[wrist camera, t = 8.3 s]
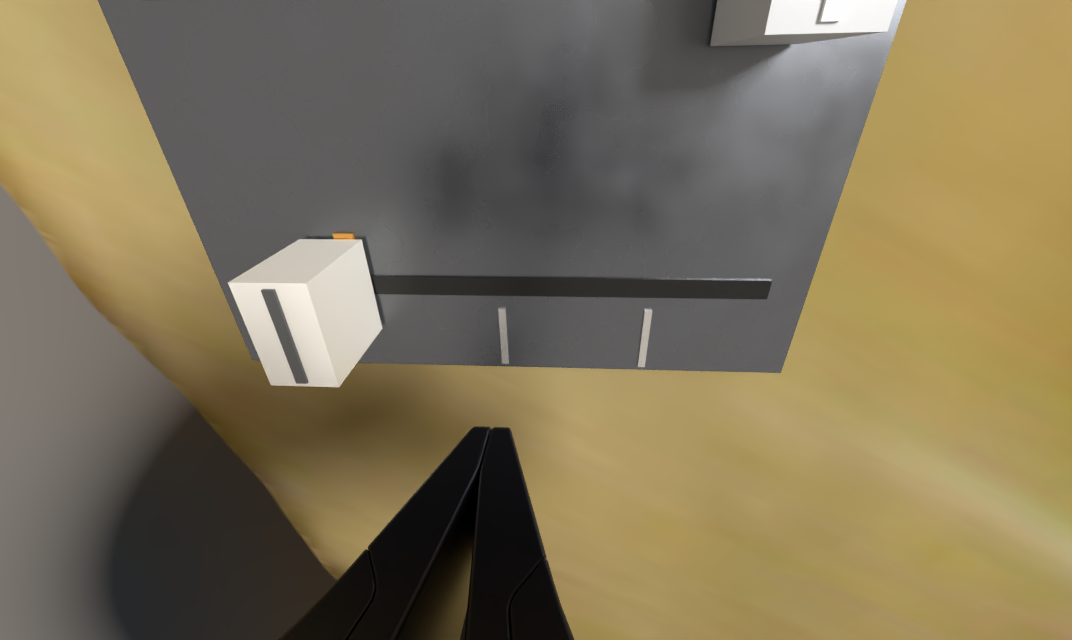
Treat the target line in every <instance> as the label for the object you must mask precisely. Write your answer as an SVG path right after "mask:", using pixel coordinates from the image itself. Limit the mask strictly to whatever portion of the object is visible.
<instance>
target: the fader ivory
mask: <svg viewBox="0 0 1072 640" xmlns="http://www.w3.org/2000/svg"><path fill="white" fill-rule="evenodd" d="M228 284H229V287H230V289H231V292H232V294H233V296H234V299H235V301H236V303H237V306H238V308H239V311H240V313H241V315H242V318H243V320H244V323H245V325H246V327H247V330H248V332H249V334H250V337H251V339H252V342H253V344H254V346H255V349H256V351H257V353H258V356H259V358H260V361H261V363H262V365H263V368H264V370H265V373H266V375H267V377H268V380H269V382H270V384H271V385H275V386H310V387H340V385H341V384H342V383H343V381H344V380H345V379H346V377H347V376H348V375H349V373H350V372H351V370H352V369H353V368H354V366H355V365H356V364H357V362H358V361H359V360H360V358H361V357H362V355H363V354H364V353H365V351H366V350H367V349H368V347H369V346H370V345H371V343H372V342H373V341H374V339H375V338H376V336H377V335H378V334H379V332H380V331H381V330H382V325H381V320H380V316H379V312H378V307H377V303H376V299H375V294H374V290H373V286H372V282H371V277H370V273H369V269H368V264H367V260H366V256H365V252H364V247H363V243H362V239H299V240H297V241H295V242H294V243H292V244H291V245H289V246H287V247H286V248H284V249H282V250H281V251H279V252H277V253H276V254H274V255H272V256H271V257H269V258H267V259H266V260H264V261H263V262H261V263H259V264H258V265H256V266H254V267H253V268H251V269H249V270H248V271H246V272H244V273H243V274H241V275H239V276H238V277H236V278H235V279H233V280H231V281H230V282H228Z"/></svg>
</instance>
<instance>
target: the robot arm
mask: <svg viewBox="0 0 1072 640" xmlns="http://www.w3.org/2000/svg"><path fill="white" fill-rule="evenodd" d="M278 640H574V637H573V635H572V632H571V630H570V627H569V625H568V622H567V619H566V617H565V614H564V612H563V609H562V606H561V603H560V600H559V597H558V594H557V591H556V588H555V584H554V581H553V578H552V574H551V571H550V567H549V564H548V561H547V560H546V554H545V550H544V546H543V543H542V539H541V536H540V532H539V529H538V525H537V521H536V518H535V514H534V511H533V507H532V504H531V500H530V496H529V493H528V489H527V486H526V482H525V479H524V475H523V471H522V468H521V464H520V461H519V457H518V454H517V450H516V447H515V443H514V439H513V436H512V432H511V430H510V428H504V427H494V428H493V429H491V428H490V427H473V428H472V429H471V430H470V431H469V432H468V433H467V434H466V436H465V437H464V438H463V439H462V440H461V441H460V442H459V444H458V445H457V446H456V447H455V448H454V449H453V450H452V452H451V453H450V454H449V455H448V456H447V457H446V458H445V460H444V461H443V462H442V463H441V464H440V465H439V466H438V468H437V469H436V470H435V471H434V472H433V473H432V474H431V476H430V477H429V478H428V479H427V480H426V481H425V482H424V483H423V485H422V486H421V487H420V488H419V489H418V490H417V491H416V493H415V494H414V495H413V496H412V497H411V498H410V499H409V501H408V502H407V503H406V504H405V505H404V506H403V507H402V509H401V510H400V511H399V512H398V513H397V514H396V515H395V517H394V518H393V519H392V520H391V521H390V522H389V523H388V524H387V526H386V527H385V528H384V529H383V530H382V531H381V532H380V534H379V535H378V536H377V537H376V538H375V539H374V540H373V542H372V543H371V544H370V545H369V546H368V550H364V552H363V553H362V554H361V555H360V556H359V557H358V558H357V560H356V561H355V562H354V563H353V564H352V565H351V566H350V567H349V569H348V570H347V571H346V572H345V573H344V574H343V575H342V576H341V577H340V578H339V579H338V580H337V582H336V583H335V584H334V585H333V586H332V587H331V588H330V589H329V590H328V591H327V592H326V593H325V594H324V595H323V596H322V597H321V598H320V599H319V600H318V601H317V602H316V603H315V604H314V605H313V606H312V607H311V608H310V609H309V610H308V611H307V612H306V613H305V614H304V615H303V616H302V617H301V618H300V619H299V620H298V621H297V622H296V623H295V624H294V625H293V626H292V627H291V628H290V629H289V630H288V631H287V632H286V633H285V634H284V635H282V636H281V637H280V639H278Z"/></svg>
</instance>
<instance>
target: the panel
mask: <svg viewBox="0 0 1072 640" xmlns="http://www.w3.org/2000/svg"><path fill="white" fill-rule="evenodd" d="M98 2H99V4H100V7H101V9H102V11H103V14H104V16H105V18H106V20H107V23H108V25H109V27H110V30H111V32H112V34H113V37H114V39H115V41H116V44H117V46H118V48H119V51H120V53H121V55H122V58H123V60H124V62H125V65H126V67H127V69H128V72H129V74H130V76H131V79H132V81H133V83H134V86H135V88H136V90H137V92H138V95H139V97H140V99H141V102H142V104H143V106H144V109H145V111H146V113H147V116H148V118H149V120H150V123H151V125H152V127H153V130H154V132H155V134H156V137H157V139H158V141H159V144H160V146H161V148H162V151H163V153H164V155H165V158H166V160H167V162H168V164H169V167H170V169H171V171H172V174H173V176H174V178H175V181H176V183H177V185H178V188H179V190H180V192H181V195H182V197H183V199H184V202H185V204H186V206H187V209H188V211H189V213H190V216H191V218H192V220H193V223H194V225H195V227H196V230H197V232H198V234H199V236H200V239H201V241H202V243H203V246H204V248H205V250H206V253H207V255H208V257H209V260H210V262H211V264H212V267H213V269H214V271H215V274H216V276H217V278H218V281H219V283H220V285H221V288H222V290H223V292H224V295H225V297H226V299H227V302H228V304H229V306H230V308H231V311H232V313H233V315H234V318H235V320H236V322H237V325H238V327H239V329H240V332H241V334H242V336H243V339H244V341H245V343H246V346H247V348H248V350H249V353H250V355H251V357H252V360H260V358H259V356H258V353H257V351H256V349H255V346H254V344H253V342H252V339H251V337H250V334H249V332H248V330H247V327H246V325H245V323H244V320H243V318H242V315H241V313H240V311H239V308H238V306H237V303H236V301H235V299H234V296H233V294H232V292H231V289H230V287H229V284H228V282H230V281H231V280H233V279H235V278H236V277H238V276H239V275H241V274H243V273H244V272H246V271H248V270H249V269H251V268H253V267H254V266H256V265H258V264H259V263H261V262H263V261H264V260H266V259H267V258H269V257H271V256H272V255H274V254H276V253H277V252H279V251H281V250H282V249H284V248H286V247H287V246H289V245H291V244H292V243H294V242H295V241H297V240H299V239H362V243H363V247H364V252H365V256H366V260H367V264H368V269H369V273H370V277H371V282H372V286H373V290H374V294H375V299H376V303H377V307H378V312H379V316H380V320H381V325H382V330H381V331H380V332H379V334H378V335H377V336H376V338H375V339H374V341H373V342H372V343H371V345H370V346H369V347H368V349H367V350H366V351H365V353H364V354H363V355H362V357H361V358H360V360H359V361H358V362H357V363H397V364H438V365H480V366H521V367H562V368H603V369H644V370H685V371H726V372H767V373H781V370H782V367H783V364H784V361H785V359H786V356H787V353H788V350H789V347H790V344H791V341H792V338H793V335H794V332H795V329H796V326H797V323H798V320H799V317H800V314H801V311H802V308H803V305H804V302H805V299H806V296H807V293H808V290H809V287H810V285H811V282H812V279H813V276H814V273H815V270H816V267H817V264H818V261H819V258H820V255H821V252H822V249H823V246H824V243H825V240H826V237H827V234H828V231H829V228H830V225H831V222H832V219H833V216H834V213H835V210H836V208H837V205H838V202H839V199H840V196H841V193H842V190H843V187H844V184H845V181H846V178H847V175H848V172H849V169H850V166H851V163H852V160H853V157H854V154H855V151H856V148H857V145H858V142H859V139H860V136H861V134H862V131H863V128H864V125H865V122H866V119H867V116H868V113H869V110H870V107H871V104H872V101H873V98H874V95H875V92H876V89H877V86H878V83H879V80H880V77H881V74H882V71H883V68H884V65H885V62H886V60H887V57H888V54H889V51H890V48H891V45H892V42H893V39H894V36H895V33H896V30H897V27H898V24H899V21H900V18H901V15H902V12H903V9H904V6H905V3H906V0H898V1H897V4H896V7H895V10H894V13H893V16H892V19H891V22H890V26H889V29H888V32H881V33H874V34H867V35H860V36H853V37H845V38H838V39H831V40H824V41H817V42H810V43H802V44H784V45H743V46H710V43H711V37H712V31H713V24H714V18H715V12H716V5H717V0H98Z"/></svg>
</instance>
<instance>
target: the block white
mask: <svg viewBox="0 0 1072 640" xmlns="http://www.w3.org/2000/svg"><path fill="white" fill-rule="evenodd" d="M897 1H898V0H717V5H716V12H715V18H714V24H713V31H712V37H711V43H710V46H743V45H784V44H802V43H810V42H817V41H824V40H831V39H838V38H845V37H853V36H860V35H867V34H874V33H881V32H888V29H889V26H890V22H891V19H892V16H893V13H894V10H895V7H896V4H897Z"/></svg>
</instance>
